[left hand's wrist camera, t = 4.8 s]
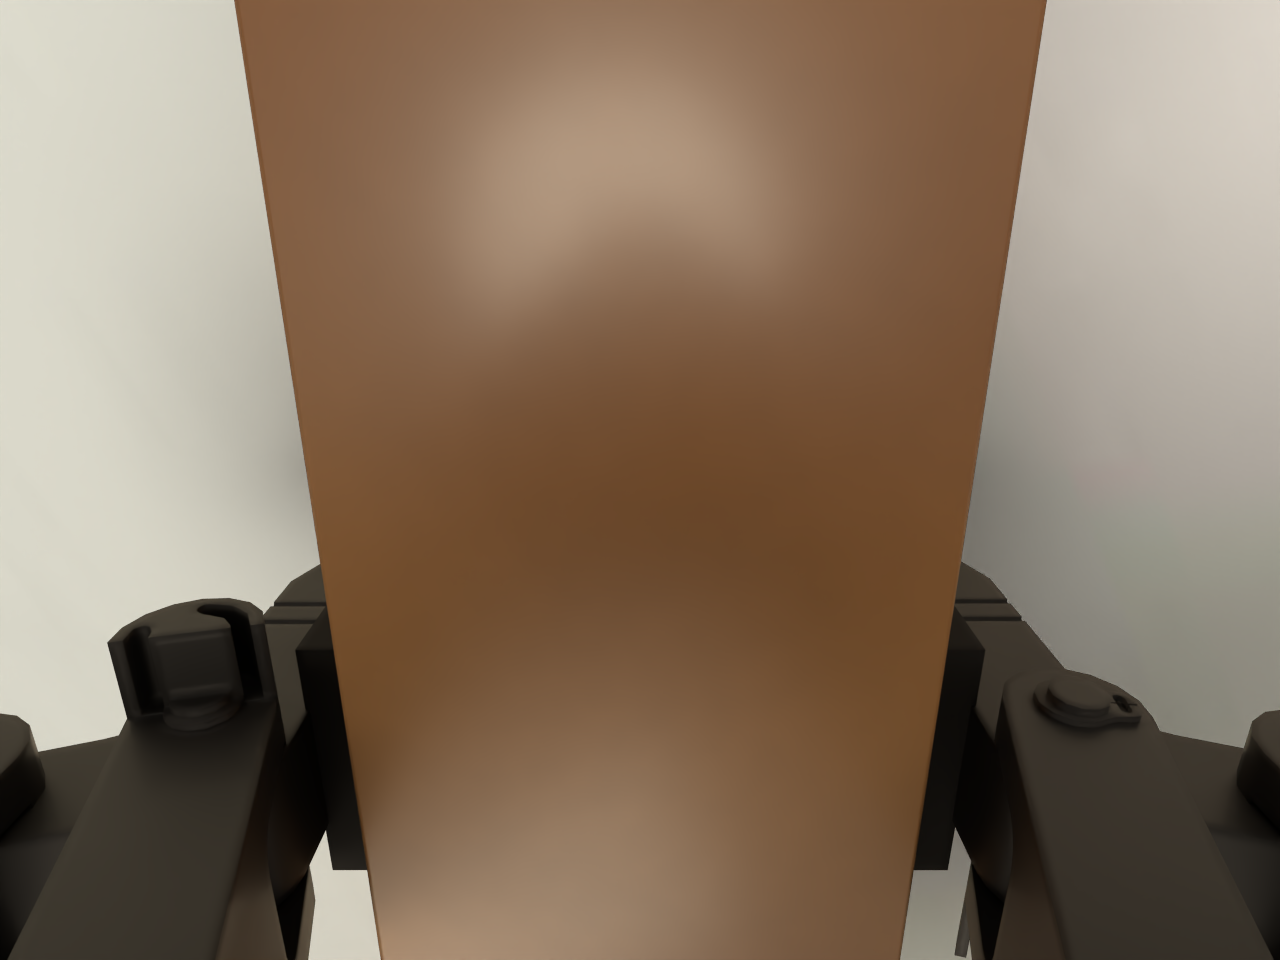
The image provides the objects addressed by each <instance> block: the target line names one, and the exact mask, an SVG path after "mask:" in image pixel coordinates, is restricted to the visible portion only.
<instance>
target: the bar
mask: <svg viewBox="0 0 1280 960" xmlns="http://www.w3.org/2000/svg"><path fill="white" fill-rule="evenodd" d="M234 1H235V8H236V14H237V21H238V28H239V34H240V41H241V47H242V54H243V60H244V67H245V73H246V80H247V86H248V93H249V99H250V106H251V113H252V119H253V126H254V132H255V139H256V145H257V152H258V158H259V165H260V171H261V178H262V185H263V191H264V198H265V204H266V211H267V217H268V224H269V230H270V237H271V243H272V250H273V257H274V263H275V270H276V276H277V283H278V289H279V296H280V302H281V309H282V315H283V322H284V328H285V335H286V342H287V348H288V355H289V361H290V368H291V374H292V381H293V387H294V394H295V400H296V407H297V414H298V420H299V427H300V433H301V440H302V446H303V453H304V459H305V466H306V472H307V479H308V485H309V492H310V499H311V505H312V512H313V518H314V525H315V531H316V538H317V544H318V551H319V557H320V564H321V571H322V577H323V584H324V590H325V597H326V603H327V610H328V616H329V623H330V629H331V636H332V643H333V649H334V656H335V662H336V669H337V675H338V682H339V688H340V695H341V701H342V708H343V714H344V721H345V728H346V734H347V741H348V747H349V754H350V760H351V767H352V773H353V780H354V786H355V793H356V800H357V806H358V813H359V819H360V826H361V832H362V839H363V845H364V852H365V858H366V865H367V872H368V878H369V885H370V891H371V898H372V904H373V911H374V917H375V924H376V930H377V937H378V943H379V950H380V957H381V960H900V955H901V949H902V942H903V936H904V929H905V923H906V916H907V910H908V903H909V897H910V890H911V884H912V877H913V871H914V864H915V858H916V851H917V844H918V838H919V831H920V825H921V818H922V812H923V805H924V799H925V792H926V786H927V779H928V773H929V766H930V760H931V753H932V746H933V740H934V733H935V727H936V720H937V714H938V707H939V701H940V694H941V688H942V681H943V675H944V668H945V662H946V655H947V649H948V642H949V635H950V629H951V622H952V616H953V609H954V603H955V596H956V590H957V583H958V577H959V570H960V564H961V557H962V551H963V544H964V537H965V531H966V524H967V518H968V511H969V505H970V498H971V492H972V485H973V479H974V472H975V466H976V459H977V453H978V446H979V440H980V433H981V426H982V420H983V413H984V407H985V400H986V394H987V387H988V381H989V374H990V368H991V361H992V355H993V348H994V342H995V335H996V328H997V322H998V315H999V309H1000V302H1001V296H1002V289H1003V283H1004V276H1005V270H1006V263H1007V257H1008V250H1009V244H1010V237H1011V231H1012V224H1013V217H1014V211H1015V204H1016V198H1017V191H1018V185H1019V178H1020V172H1021V165H1022V159H1023V152H1024V146H1025V139H1026V133H1027V126H1028V120H1029V113H1030V106H1031V100H1032V93H1033V87H1034V80H1035V74H1036V67H1037V61H1038V54H1039V48H1040V41H1041V35H1042V28H1043V22H1044V15H1045V8H1046V2H1047V0H234Z"/></svg>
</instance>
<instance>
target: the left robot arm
mask: <svg viewBox="0 0 1280 960" xmlns="http://www.w3.org/2000/svg"><path fill="white" fill-rule="evenodd" d="M107 644H108V647H109V651H110V655H111V659H112V663H113V666H114V670H115V674H116V678H117V681H118V685H119V689H120V693H121V697H122V700H123V704H124V708H125V712H126V715H127V720H126V722H125V724H124V726H123V728H122V730H121V732H120V734H119V736H115V737H111V738H107V739H103V740H97V741H92V742H87V743H82V744H77V745H72V746H67V747H61V748H56V749H51V750H46V751H41V752H38V750H37V747H36V744H35V741H34V738H33V734H32V731H31V728H30V725H29V724H27V723H26V722H25V721H23V720H22V719H20V718H19V717H18V716H15V715H7V714H0V960H308V956H309V948H310V940H311V932H312V924H313V915H314V907H315V895H314V889H313V882H312V877H311V871H310V866H309V865H310V863H311V861H312V858H313V856H314V854H315V852H316V850H317V848H318V846H319V843H320V841H321V839H322V837H323V835H324V833H325V831H326V833H327V839H328V844H329V850H330V856H331V862H332V868H333V870H367V865H366V858H365V852H364V845H363V839H362V832H361V826H360V819H359V813H358V806H357V800H356V793H355V786H354V780H353V773H352V767H351V760H350V754H349V747H348V741H347V734H346V728H345V721H344V714H343V708H342V701H341V695H340V688H339V682H338V675H337V669H336V662H335V656H334V649H333V643H332V636H331V629H330V623H329V616H328V610H327V603H326V597H325V590H324V584H323V577H322V571H321V564H320V565H318V566H316V567H314V568H313V569H311V570H309V571H308V572H306V573H304V574H303V575H301V576H299V577H298V578H296V579H294V580H293V581H291V582H290V584H289V585H288V586H287V587H286V588H285V590H284V591H283V592H282V593H281V594H280V596H279V597H278V598H277V599H276V601H275V602H274V606H271V607H270V608H269V609H268V610H267V611H266V613H265V614H264V615H263V612H262V610H260V609H259V608H257V607H256V606H255V605H253V604H252V603H250V602H246V601H241V600H236V599H231V598H218V599H200V600H195V601H190V602H184V603H179V604H174V605H171V606H168V607H165V608H163V609H160V610H157V611H154V612H151V613H148V614H146V615H144V616H142V617H140V618H138V619H137V620H135V621H133V622H131V623H130V624H128V625H126V626H124V627H123V628H121V629H120V630H119V631H118V632H117V633H116V634H115V635H114V636H113V637H112V638H111V639H110V640H109V641H108V642H107ZM955 827H956V829H957V832H958V834H959V836H960V838H961V840H962V842H963V844H964V846H965V849H966V851H967V853H968V855H969V857H970V859H971V866H970V871H969V877H968V882H967V888H966V893H965V898H964V904H963V909H962V915H961V920H960V925H959V931H958V936H957V943H956V949H955V955H956V956H961V957H966V955H967V950H968V945H969V940H970V946H971V954H972V960H1280V710H1277V711H1269V712H1265V713H1263V714H1262V715H1260V716H1259V717H1258V718H1256V719H1255V720H1253V721H1252V724H1251V727H1250V730H1249V734H1248V737H1247V740H1246V743H1245V746H1244V748H1239V747H1234V746H1228V745H1223V744H1218V743H1213V742H1208V741H1202V740H1197V739H1192V738H1187V737H1182V736H1177V735H1173V734H1169V733H1165V732H1161V731H1159V729H1158V727H1157V725H1156V723H1155V721H1154V719H1153V717H1152V716H1151V715H1150V713H1149V712H1148V711H1147V710H1146V709H1145V707H1144V706H1143V705H1142V704H1141V702H1140V701H1139V700H1137V699H1136V698H1134V697H1133V696H1131V695H1130V694H1128V693H1127V692H1125V691H1124V690H1122V689H1121V688H1119V687H1118V686H1116V685H1113V684H1111V683H1108V682H1106V681H1103V680H1101V679H1099V678H1096V677H1094V676H1091V675H1088V674H1083V673H1079V672H1075V671H1070V670H1066V669H1064V667H1063V666H1062V665H1061V664H1060V663H1059V661H1058V660H1057V659H1056V658H1055V657H1054V655H1053V654H1052V653H1051V652H1050V651H1049V649H1048V648H1047V647H1046V646H1045V644H1044V643H1043V642H1042V641H1041V640H1040V638H1039V637H1038V636H1037V635H1036V634H1035V632H1034V631H1033V630H1032V629H1031V628H1030V626H1029V625H1028V624H1027V623H1026V622H1025V621H1022V620H1021V616H1020V614H1019V613H1018V612H1017V611H1016V610H1015V608H1014V607H1013V606H1012V605H1011V604H1007V599H1006V598H1005V596H1004V595H1003V594H1002V593H1001V592H1000V590H999V589H998V588H997V587H996V586H995V584H994V583H993V582H992V581H991V580H990V578H988V577H986V576H985V575H983V574H981V573H979V572H978V571H976V570H974V569H973V568H971V567H969V566H968V565H966V564H964V563H963V562H961V564H960V570H959V577H958V583H957V590H956V596H955V603H954V609H953V616H952V622H951V629H950V635H949V642H948V649H947V655H946V662H945V668H944V675H943V681H942V688H941V694H940V701H939V707H938V714H937V720H936V727H935V733H934V740H933V746H932V753H931V760H930V766H929V773H928V779H927V786H926V792H925V799H924V805H923V812H922V818H921V825H920V831H919V838H918V844H917V851H916V858H915V864H914V870H948V865H949V859H950V853H951V848H952V842H953V836H954V830H955Z"/></svg>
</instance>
